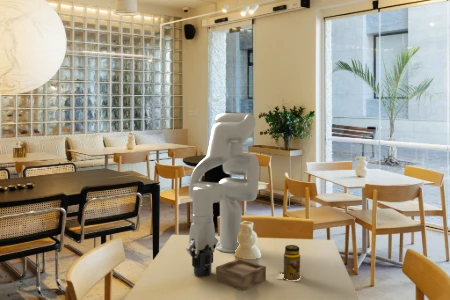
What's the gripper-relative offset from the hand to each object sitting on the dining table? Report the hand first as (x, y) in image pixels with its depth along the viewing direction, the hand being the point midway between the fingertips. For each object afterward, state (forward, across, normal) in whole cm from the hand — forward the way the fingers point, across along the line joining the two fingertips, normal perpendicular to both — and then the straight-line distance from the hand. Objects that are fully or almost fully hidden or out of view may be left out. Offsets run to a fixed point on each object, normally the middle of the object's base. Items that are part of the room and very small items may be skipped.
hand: (202, 264), depth 188 cm
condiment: (+4, -20, +26) cm, 33 cm away
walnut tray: (+4, -5, +15) cm, 16 cm away
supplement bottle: (+4, 0, 0) cm, 4 cm away
